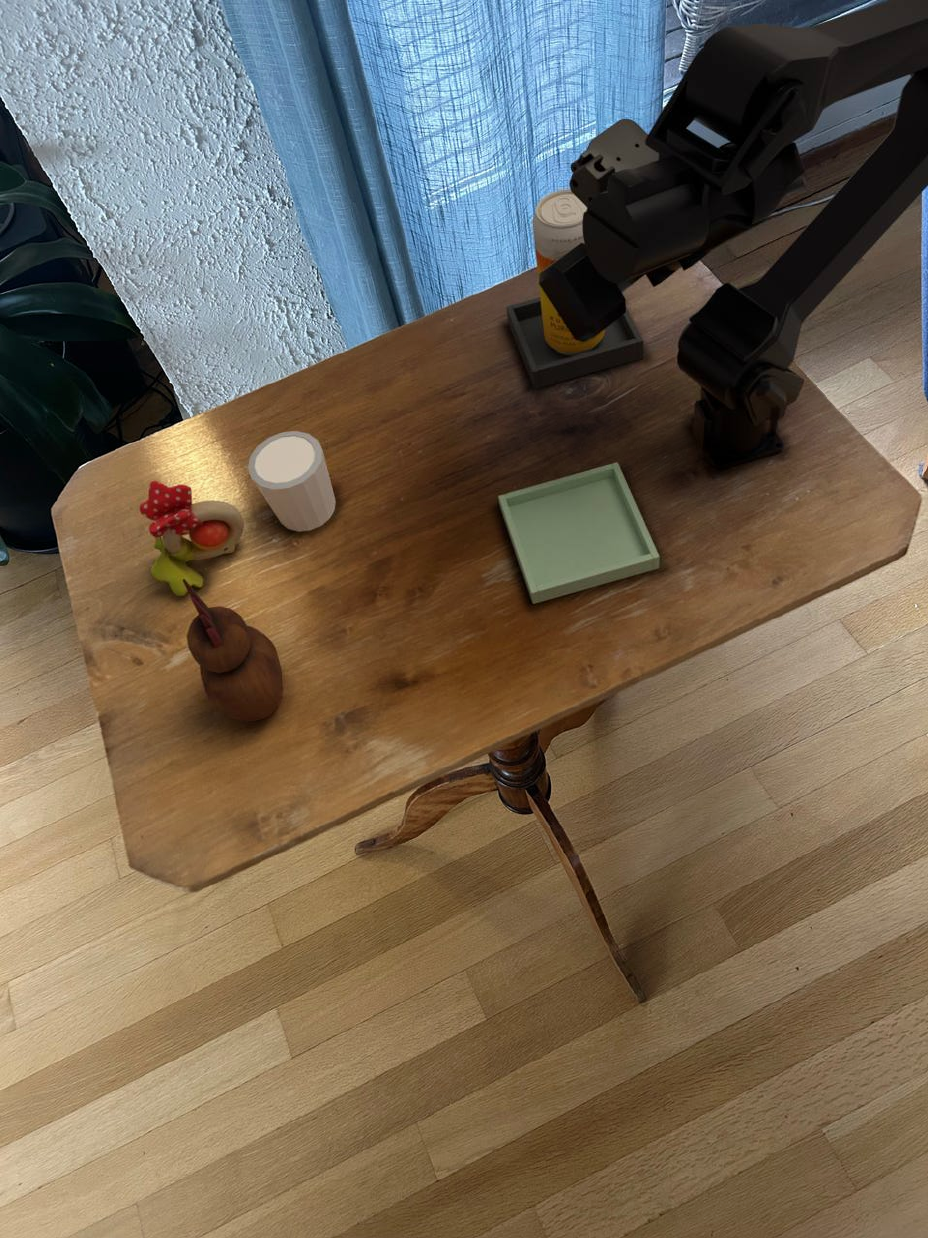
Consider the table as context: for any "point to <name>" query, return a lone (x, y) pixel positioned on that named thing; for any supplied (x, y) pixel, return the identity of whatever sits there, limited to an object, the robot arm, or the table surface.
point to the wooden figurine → (234, 662)
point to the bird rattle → (188, 532)
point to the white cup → (294, 479)
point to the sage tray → (577, 533)
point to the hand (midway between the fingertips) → (594, 276)
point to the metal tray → (556, 367)
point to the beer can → (553, 239)
